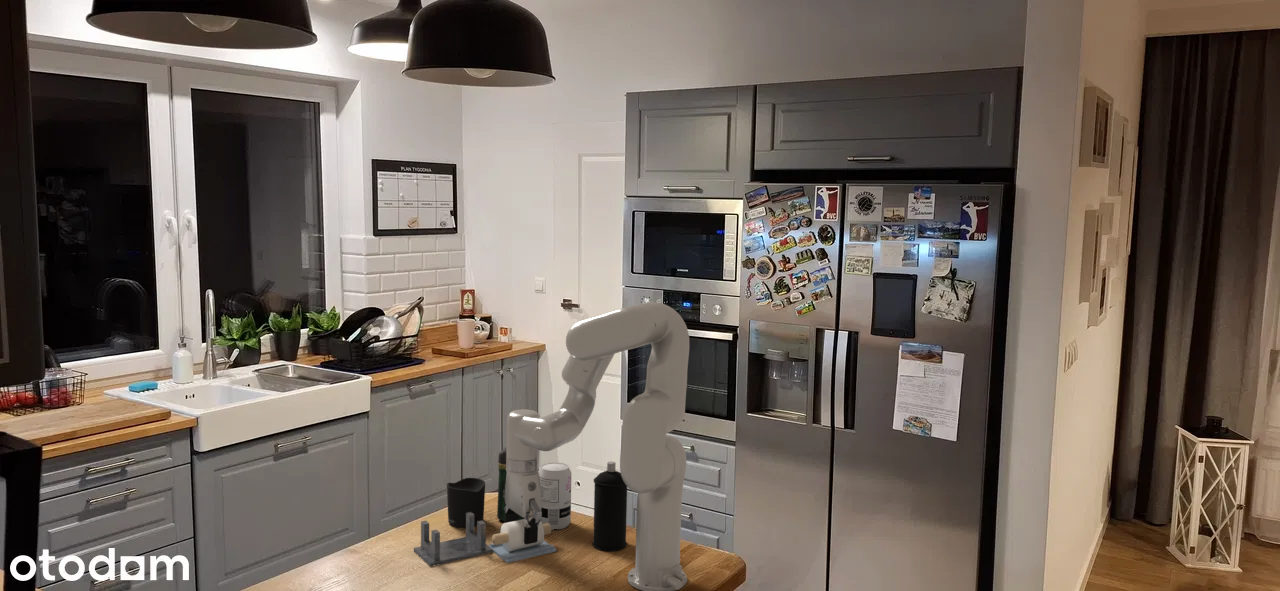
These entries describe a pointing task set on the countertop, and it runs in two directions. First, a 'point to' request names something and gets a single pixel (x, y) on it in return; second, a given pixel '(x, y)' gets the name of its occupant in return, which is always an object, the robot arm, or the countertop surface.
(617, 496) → the aerosol can
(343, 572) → the countertop surface
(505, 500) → the robot arm
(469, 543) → the holder
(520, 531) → the paper roll
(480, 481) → the pen holder
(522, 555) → the rest
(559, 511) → the supplement can
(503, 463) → the coffee jar
